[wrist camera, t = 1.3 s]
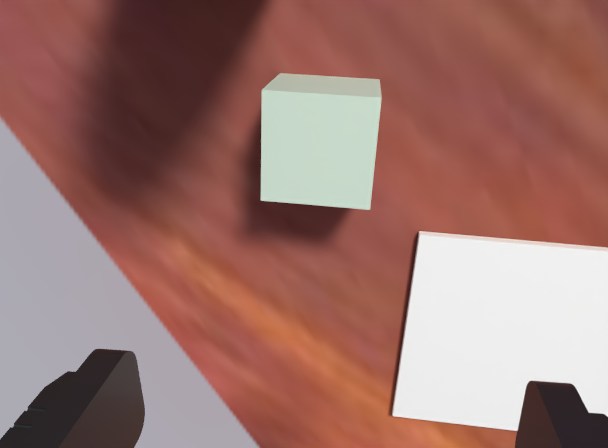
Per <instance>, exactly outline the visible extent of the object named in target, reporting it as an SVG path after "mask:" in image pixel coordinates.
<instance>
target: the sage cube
mask: <svg viewBox="0 0 608 448" xmlns="http://www.w3.org/2000/svg"><path fill="white" fill-rule="evenodd" d="M380 107H381V89H380V80H379V79H364V78H348V77H332V76H316V75H300V74H284V73H280V74H279V75H278V76H276V77H275V78H274V79H273V80H272V81H271V82H270V83H269V84H268V85H267V86H266V87H265V88H263V89H262V118H261V201H271V202H283V203H295V204H307V205H319V206H331V207H343V208H355V209H367V210H370V204H371V195H372V185H373V175H374V166H375V156H376V146H377V137H378V127H379V117H380Z"/></svg>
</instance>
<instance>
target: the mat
mask: <svg viewBox="0 0 608 448" xmlns="http://www.w3.org/2000/svg"><path fill="white" fill-rule="evenodd" d="M529 381H545V382H559V383H571V384H573V385H574V386H575V388H576V389H577V391H578V393H579V395H580V397H581V399H582V401H583V403H584V405H585V407H586V408H587V410H588V412H589V413H600V414H605V415H606V416H607V417H608V248H606V247H595V246H583V245H572V244H561V243H549V242H538V241H527V240H515V239H504V238H493V237H481V236H470V235H458V234H447V233H436V232H424V231H419V234H418V241H417V247H416V254H415V261H414V268H413V274H412V281H411V288H410V295H409V301H408V308H407V315H406V321H405V328H404V335H403V342H402V348H401V355H400V362H399V368H398V375H397V382H396V389H395V395H394V402H393V409H392V415H393V416H396V417H404V418H413V419H421V420H430V421H438V422H446V423H455V424H463V425H472V426H480V427H488V428H497V429H505V430H514V431H518V426H519V421H520V416H521V411H522V406H523V400H524V395H525V390H526V386H527V384H528V382H529Z"/></svg>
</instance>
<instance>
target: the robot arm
mask: <svg viewBox="0 0 608 448" xmlns="http://www.w3.org/2000/svg"><path fill="white" fill-rule="evenodd" d="M144 416H145V408H144V401H143V395H142V390H141V383H140V378H139V371H138V365H137V360H136V356H135V354H134V353H133V352H132V351H121V350H108V349H96V350H94V351H93V352H92V353H91V354H90V355H89V356H88V357H87V359H86V360H85V361H84V363H83V364H82V365H81V366H80V368H79V369H78V370H77V371H76V372H67V373H65V374H64V375H62V376H61V377H59V378H58V379H56V380H55V381H54V382H52V383H50V384H49V385H48V386H46V387H45V388H44V389H43V390H42V391H41V392H40V393H39V395H38V396H37V397H36V398H35V399H34V400H33V402H32V403H31V404H30V405H29V406H28V410H27V411H24V412H23V413H22V415H21V416H20V417H19V418H18V419H17V421H16V422H15V423H14V427H13V428H10V429H9V430H8V431H7V432H6V433H5V435H4V436H3V437H2V438H1V440H0V448H134V446H135V444H136V443H137V441H138V439H139V437H140V434H141V431H142V428H143V423H144ZM515 448H608V417H607V416H606V415H605V414H600V413H589V412H588V410H587V408H586V407H585V405H584V403H583V401H582V399H581V397H580V395H579V393H578V391H577V389H576V388H575V386H574V385H573V384H571V383H559V382H545V381H529V382H528V384H527V386H526V390H525V395H524V400H523V406H522V411H521V416H520V421H519V426H518V431H517V436H516V443H515Z"/></svg>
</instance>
